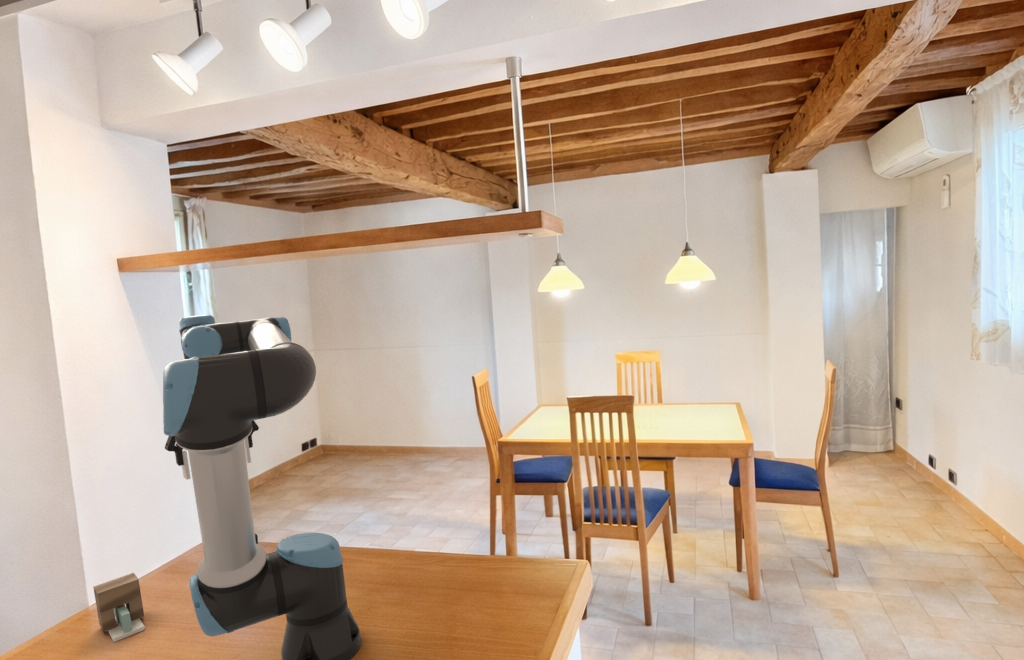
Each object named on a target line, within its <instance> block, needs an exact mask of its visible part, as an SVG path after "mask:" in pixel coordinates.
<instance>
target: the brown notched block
mask: <svg viewBox="0 0 1024 660" xmlns="http://www.w3.org/2000/svg"><path fill="white" fill-rule="evenodd" d="M139 580H140V579H139V578H138V576H137V575H136V574H135V573H134V572H131V573H128V574H126V575H122V576H120V577H117V578H114V579H111V580H109V581H106V582H102V583H99V584H97V585H94V586H93V593H94V599H95V600H94V601H95V605H96V611H97V617H98V622H99V623H98V624H99V626H100V628H101V630H102V633H105V632H108V630H111V629H113V628H116V627H117V626H116V620H115V614H114V608H115V607H118V606H121V605H123V604H124V605H126V608H127V609H128V611H129V613H130V618H131V620H132V621H134V620H136V619H141V618H144V617H145V612H144V606H143V600H142V599H143V598H142V592H141V587H140V581H139Z"/></svg>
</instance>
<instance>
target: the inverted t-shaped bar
mask: <svg viewBox="0 0 1024 660" xmlns="http://www.w3.org/2000/svg"><path fill="white" fill-rule="evenodd" d="M114 614H115V620H116V626H117V627H116V628H113V629H111V630H108V631H107V632H108V634H109V635H110V638H111V641H112V642H113V643H116V642H117V641H120V640H123V639H125V638H127V637H130V636H132V635H134V634H137V633H140V632H143V631H145V630H146V628H145V625H144V623H143V621H142V620H141V618H139V619H136V620H134V621H132V620H131V618H130V613H129V611H128V609H127V608H126V604H123V605H121V606H118V607H115V608H114Z"/></svg>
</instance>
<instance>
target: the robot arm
mask: <svg viewBox="0 0 1024 660" xmlns="http://www.w3.org/2000/svg"><path fill="white" fill-rule="evenodd" d="M178 322H179V324H178V325H179V330H178V331H179V334H180V345H181V349H182V350H181V351H182V353H183V359H180V360H175V361H174V360H173V361H171V362H169V363H168V364H167V365H166V366H165V367H164V369H163V374H162V379H163V380H162V391H163V392H162V405H163V412H162V413H163V414H162V417H163V421H162V423H163V434H164V435H165V436H168V437H167V439H166V442H165V444H164V449H165V450H166V451H168V452H174V455H175V462H176V465H178V466H179V467H181V470H182V475H183V478H184V479H185V480H191V478H192V485H193V492H194V499H195V504H196V511H197V518H198V523H199V531H200V535H201V536H200V537H201V542H202V543H201V544H202V549H203V558H202V559H201V561H200V562H199V564H198V566H197V568H196V569H197V571H196V573H194V574H192V575H191V576H190V579H189V588H190V597H191V600H192V603H193V608H194V613H195V617H196V619H197V622H198V624H199V627H200V629H201V631H202V633H203V634H204V635H206V636H208V637H216V636H220V635H225V634H230V633H233V632H235V631H237V630H240V629H244V628H247V627H250V626H253V625H256V624H260V623H261V622H264V621H267V620H271V619H273V618H276V617H279V616H283V615H285V617H286V625H285V631H284V634H283V639H282V644H281V649H280V650H281V652H280V653H281V660H350V659H352V658H353V657H354V656H355V655H356V654H357V653H358V651H359V649H360V648H361V644H362V637H361V630H360V627H359V625H358V623H357V621H356V619H355V618H354V615H353V614H352V611H351V610H350V607H349V604H348V599H347V591H346V582H345V574H344V566H343V563H344V558H343V556H342V552H341V551H342V550H341V547H340V544H339V541H338V539H336V538H335V537H334V536H333V535H331V534H327V533H322V532H303V533H296V534H292V535H288V536H287V537H286V538H283V539H281V540H280V541H279V542H278V543H277V545H276V548H275V551H274V552H273V551H272V552H269V553H266V550H265V549H264V547H263V546H261V545H260V544H259V543H258V544H256V540H255V534H256V532H255V524H254V516H253V515H254V514H253V508H252V499H251V491H250V490H251V489H250V482H249V473H248V472H249V471H248V464H249V463H252V458H251V451H250V449H251V448H253V446H254V444H253V443H254V442H253V436H252V435H253V434H254V433H255V432H256V431H257V432H258V431H259V429H260V427H259V425H258V424H257V423H256V420H262V419H266V418H270V417H276V416H278V415H282V414H283V413H285V412H287V411H290V410H291V409H293V408H294V407H295V406H297V405H298V404H299V403H300V402H301V401H302V400H304V398H305V397H306V396H307V395H308V394H309V392H310V391H311V389H312V388H313V386H314V383H315V380H316V375H317V367H316V363H315V360H314V358H313V356H312V355H311V353H309V351H308V350H307V349H306V348H305V347H304V346H302V345H300V344H298V343H295V342H293V341H292V330H291V327H290V323H289V320H288V319H287V317H284V316H276V317H274V316H269V317H265V318H257V319H249V320H240V321H230V322H219V323H216V319H215V316H213V315H212V314H201V315H191V316H184V317H181V318H180V319H179V321H178ZM189 465H190V466H189ZM190 472H191V473H190Z"/></svg>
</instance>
